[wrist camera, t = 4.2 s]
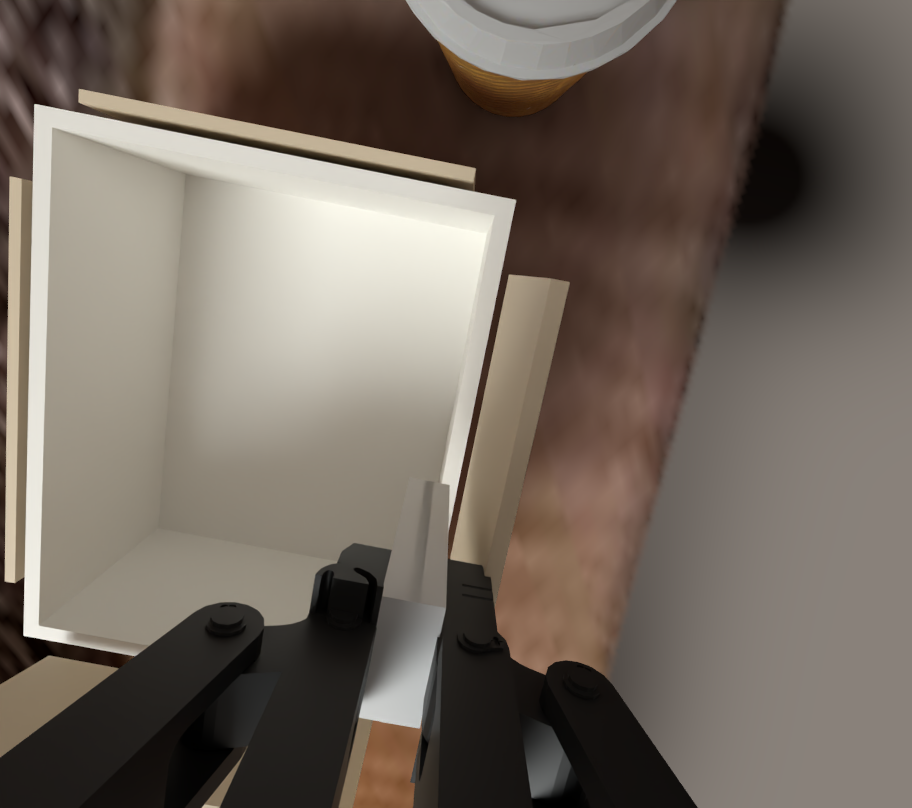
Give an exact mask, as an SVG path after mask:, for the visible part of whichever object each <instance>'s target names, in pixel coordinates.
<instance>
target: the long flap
mask: <svg viewBox="0 0 912 808" xmlns="http://www.w3.org/2000/svg"><path fill="white" fill-rule="evenodd" d="M569 284H570V282H566V281H561V280H556V279H551V278H541V277H530V276H520V275H510V274H509V277H508V282H507V287H506V291H505V296H504V301H503V306H502V311H501V316H500V320H499V325H498V330H497V335H496V340H495V344H494V349H493V354H492V359H491V364H490V369H489V373H488V378H487V383H486V388H485V393H484V398H483V402H482V407H481V412H480V417H479V422H478V426H477V431H476V436H475V441H474V446H473V451H472V455H471V460H470V465H469V470H468V475H467V480H466V484H465V489H464V494H463V499H462V504H461V509H460V513H459V518H458V523H457V528H456V533H455V537H454V542H453V547H452V552H451V557H450V559H451V560H456V561H461V562H467V563H472V564H478V565H482V566H483V569H484V575H485V576H487V577H491V582H492V592H493V602H494V608H495V603H496V599H497V595H498V590H499V586H500V582H501V577H502V573H503V569H504V565H505V560H506V556H507V552H508V547H509V543H510V539H511V534H512V530H513V526H514V521H515V517H516V513H517V508H518V504H519V500H520V495H521V491H522V487H523V483H524V478H525V474H526V470H527V465H528V461H529V457H530V452H531V448H532V444H533V439H534V435H535V431H536V426H537V422H538V418H539V413H540V409H541V405H542V401H543V396H544V392H545V388H546V383H547V379H548V375H549V370H550V366H551V362H552V357H553V353H554V349H555V344H556V340H557V336H558V331H559V327H560V323H561V319H562V314H563V310H564V306H565V301H566V297H567V293H568V288H569Z"/></svg>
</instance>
